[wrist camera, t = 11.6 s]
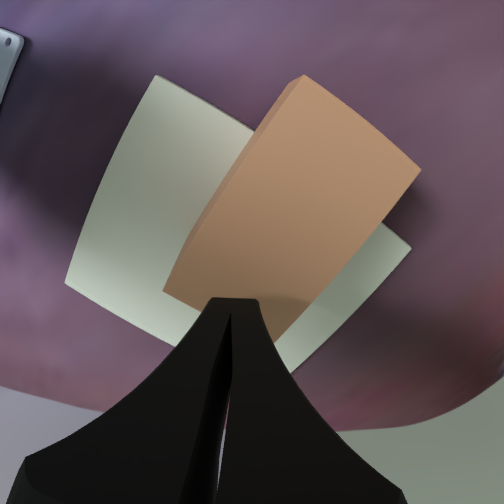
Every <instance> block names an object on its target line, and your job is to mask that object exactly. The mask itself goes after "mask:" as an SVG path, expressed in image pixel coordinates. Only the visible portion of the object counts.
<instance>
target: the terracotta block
mask: <svg viewBox="0 0 504 504" xmlns="http://www.w3.org/2000/svg"><path fill="white" fill-rule="evenodd" d="M420 171H421V169H420V168H419V167H418V166H417V165H416V164H415V163H414V162H413V161H412V160H411V159H410V158H409V157H407V156H406V155H405V154H404V153H403V152H402V151H401V150H400V149H399V148H398V147H397V146H395V145H394V144H393V143H392V142H391V141H390V140H389V139H387V138H386V137H385V136H384V135H383V134H382V133H380V132H379V131H378V130H377V129H376V128H375V127H373V126H372V125H371V124H370V123H369V122H367V121H366V120H365V119H364V118H362V117H361V116H360V115H359V114H357V113H356V112H355V111H354V110H352V109H351V108H350V107H348V106H347V105H346V104H345V103H343V102H342V101H341V100H339V99H338V98H337V97H335V96H334V95H333V94H331V93H330V92H328V91H327V90H326V89H324V88H323V87H321V86H320V85H319V84H317V83H316V82H314V81H313V80H312V79H310V78H309V77H307V76H306V75H302V76H300V77H299V78H297V79H295V80H293V81H291V82H289V83H288V85H287V86H286V88H285V89H284V90H283V92H282V93H281V95H280V96H279V97H278V99H277V100H276V102H275V103H274V104H273V106H272V107H271V109H270V110H269V112H268V113H267V114H266V116H265V117H264V119H263V120H262V122H261V123H260V125H259V126H258V128H257V129H256V130H255V132H254V133H253V135H252V136H251V138H250V139H249V141H248V142H247V144H246V145H245V147H244V148H243V150H242V151H241V153H240V154H239V156H238V157H237V159H236V160H235V162H234V163H233V165H232V166H231V168H230V169H229V171H228V173H227V174H226V176H225V177H224V179H223V180H222V182H221V183H220V185H219V186H218V188H217V190H216V191H215V193H214V194H213V196H212V198H211V199H210V201H209V202H208V204H207V205H206V207H205V209H204V210H203V212H202V214H201V215H200V217H199V218H198V220H197V222H196V223H195V225H194V227H193V228H192V230H191V231H190V233H189V235H188V236H187V238H186V241H185V243H184V245H183V247H182V249H181V251H180V253H179V255H178V258H177V260H176V262H175V264H174V266H173V268H172V271H171V273H170V275H169V277H168V279H167V282H166V284H165V286H164V288H163V290H162V291H163V292H165V293H166V294H168V295H170V296H172V297H174V298H176V299H177V300H179V301H181V302H183V303H185V304H187V305H188V306H190V307H192V308H194V309H196V310H198V311H200V312H202V311H203V309H204V307H205V306H206V304H207V303H208V301H209V300H210V299H211V298H212V297H223V298H252V299H256V300H257V301H259V305H260V310H261V313H262V317H263V320H264V322H265V325H266V328H267V330H268V332H269V335H270V337H271V339H272V341H273V343H275V342H276V341H277V340H278V339H279V338H280V337H281V336H282V335H283V334H284V332H285V331H286V330H287V329H288V328H289V327H290V326H291V325H292V324H293V323H294V322H295V321H296V320H297V319H298V318H299V316H300V315H301V314H302V313H303V312H304V311H305V310H306V309H307V308H308V307H309V306H310V304H311V303H312V302H313V301H314V300H315V299H316V298H317V297H318V296H319V294H320V293H321V292H322V291H323V290H324V289H325V288H326V287H327V286H328V284H329V283H330V282H331V281H332V280H333V279H334V278H335V276H336V275H337V274H338V273H339V272H340V271H341V269H342V268H343V267H344V266H345V265H346V264H347V263H348V261H349V260H350V259H351V258H352V257H353V255H354V254H355V253H356V252H357V251H358V250H359V248H360V247H361V246H362V245H363V244H364V242H365V241H366V240H367V239H368V237H369V236H370V235H371V234H372V233H373V231H374V230H375V229H376V228H377V226H378V225H379V224H380V223H381V222H382V220H383V219H384V218H385V217H386V215H387V214H388V213H389V211H390V210H391V209H392V208H393V206H394V205H395V204H396V203H397V201H398V200H399V199H400V197H401V196H402V195H403V194H404V192H405V191H406V190H407V188H408V187H409V186H410V184H411V183H412V182H413V180H414V179H415V178H416V176H417V175H418V174H419V172H420Z"/></svg>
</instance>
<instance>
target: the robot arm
mask: <svg viewBox="0 0 504 504" xmlns="http://www.w3.org/2000/svg"><path fill="white" fill-rule="evenodd" d="M10 40H11V44H10V45H9V43H10ZM23 44H24V39H23V37H22V36H20V35H18V34H15V33H13V32H10V31H8V30H5V29H2V28H0V104H1V101H2V98H3V95H4V92H5V89H6V87H7V84H8V81H9V79H10V76H11V73H12V71H13V68H14V66H15V63H16V61H17V59H18V56H19V54H20V52H21V50H22V47H23ZM229 397H230V401H229ZM228 403H229V409H228V417H227V425H226V434H225V441H224V448H223V455H222V463H221V470H220V477H219V484H218V470H219V456H220V448H221V441H222V435H223V430H224V425H225V419H226V414H227V408H228ZM217 485H218V490H217ZM6 504H408V503H407V501H406V499H405V497H404V494H403V492H402V490H401V489H400V488H398V487H397V486H396V485H394V484H393V483H391V482H390V481H389V480H388V479H386V478H385V477H384V476H382V475H381V474H380V473H379V472H377V471H376V470H375V469H374V468H372V467H371V466H370V465H369V464H368V463H367V462H365V461H364V460H363V459H362V458H361V457H360V456H359V455H358V454H357V453H356V452H355V451H353V450H352V449H351V448H350V447H349V446H348V445H347V444H346V443H345V442H344V441H343V440H342V439H341V437H340V436H339V435H338V434H337V433H336V432H335V431H334V430H333V429H332V428H331V427H330V426H329V425H328V424H327V422H326V421H325V420H324V419H323V418H322V417H321V416H320V414H319V413H318V412H317V411H316V409H315V408H314V407H313V406H312V404H311V403H310V402H309V401H308V399H307V398H306V396H305V395H304V394H303V392H302V391H301V389H300V388H299V387H298V385H297V384H296V382H295V381H294V379H293V377H292V376H291V374H290V373H289V371H288V369H287V368H286V366H285V364H284V362H283V361H282V359H281V357H280V355H279V353H278V351H277V349H276V347H275V345H274V343H273V341H272V339H271V337H270V335H269V332H268V330H267V328H266V325H265V322H264V320H263V317H262V313H261V310H260V305H259V301H257V300H256V299H252V298H223V297H212V298H211V299H210V300H209V301H208V303H207V304H206V306H205V307H204V309H203V311H202V312H201V314H200V315H199V317H198V318H197V319H196V321H195V322H194V324H193V325H192V326H191V328H190V329H189V330H188V332H187V333H186V334H185V335H184V337H183V338H182V339H181V341H180V342H179V343H178V344H177V346H176V347H175V348H174V349H173V350H172V351H171V352H170V354H169V355H168V356H167V357H166V358H165V359H164V360H163V361H162V363H161V364H160V365H159V366H158V367H157V368H156V369H155V370H154V371H153V372H152V373H151V374H150V375H149V376H148V377H147V378H146V379H145V380H144V381H143V382H142V383H140V384H139V385H138V386H137V387H136V388H135V389H134V390H133V391H131V392H130V393H129V394H128V395H127V396H125V397H124V398H123V399H122V400H121V401H119V402H118V403H117V404H116V405H114V406H113V407H112V408H110V409H109V410H108V411H106V412H105V413H104V414H102V415H101V416H99V417H98V418H96V419H95V420H93V421H92V422H90V423H88V424H87V425H86V426H84V427H82V428H81V429H79V430H78V431H76V432H75V433H73V434H71V435H70V436H68V437H66V438H64V439H62V440H60V441H58V442H57V443H54V444H52V445H51V446H48V447H46V448H44V449H42V450H40V451H38V452H36V453H34V454H31V455H29V456H26V457H25V459H24V461H23V463H22V465H21V467H20V469H19V471H18V473H17V476H16V478H15V481H14V483H13V486H12V489H11V491H10V494H9V497H8V499H7V502H6Z"/></svg>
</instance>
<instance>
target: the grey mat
mask: <svg viewBox="0 0 504 504" xmlns="http://www.w3.org/2000/svg"><path fill="white" fill-rule="evenodd" d="M254 132H255V131H254V130H252V129H251V128H249V127H248V126H246V125H245V124H243V123H241V122H240V121H238V120H236V119H235V118H233V117H232V116H230V115H228V114H227V113H225V112H223V111H222V110H220V109H218V108H217V107H215V106H213V105H212V104H210V103H208V102H206V101H205V100H203V99H201V98H199V97H198V96H196V95H194V94H192V93H191V92H189V91H187V90H185V89H183V88H182V87H180V86H178V85H176V84H174V83H172V82H171V81H169V80H167V79H165V78H163V77H161V76H158V75H155V77H154V79H153V80H152V82H151V84H150V85H149V87H148V89H147V91H146V92H145V94H144V96H143V98H142V99H141V101H140V103H139V105H138V107H137V108H136V110H135V112H134V114H133V116H132V118H131V120H130V122H129V124H128V125H127V127H126V129H125V131H124V133H123V135H122V137H121V139H120V141H119V143H118V146H117V148H116V150H115V152H114V154H113V156H112V158H111V160H110V163H109V165H108V167H107V169H106V171H105V174H104V176H103V178H102V181H101V183H100V185H99V188H98V190H97V192H96V195H95V197H94V200H93V202H92V205H91V207H90V210H89V212H88V215H87V218H86V220H85V223H84V226H83V228H82V231H81V234H80V237H79V240H78V242H77V245H76V248H75V251H74V254H73V257H72V260H71V263H70V267H69V270H68V273H67V276H66V280H65V284H67V285H68V286H70V287H72V288H73V289H75V290H76V291H78V292H79V293H81V294H83V295H84V296H86V297H87V298H89V299H91V300H92V301H94V302H96V303H97V304H99V305H101V306H102V307H104V308H106V309H107V310H109V311H111V312H112V313H114V314H116V315H118V316H119V317H121V318H123V319H125V320H126V321H128V322H130V323H132V324H133V325H135V326H137V327H139V328H141V329H143V330H144V331H146V332H148V333H150V334H152V335H154V336H156V337H157V338H159V339H161V340H163V341H165V342H167V343H169V344H171V345H173V346H175V347H176V346H177V344H178V343H179V342H180V341H181V339H182V338H183V337H184V335H185V334H186V333H187V332H188V330H189V329H190V328H191V326H192V325H193V324H194V322H195V321H196V319H197V318H198V317H199V315H200V314H201V312H200V311H198V310H196V309H194V308H192V307H190V306H188V305H187V304H185V303H183V302H181V301H179V300H177V299H176V298H174V297H172V296H170V295H168V294H166V293H165V292H163V291H162V290H163V288H164V286H165V284H166V282H167V279H168V277H169V275H170V273H171V271H172V268H173V266H174V264H175V262H176V260H177V258H178V255H179V253H180V251H181V249H182V247H183V245H184V243H185V241H186V238H187V236H188V235H189V233H190V231H191V230H192V228H193V227H194V225H195V223H196V222H197V220H198V218H199V217H200V215H201V214H202V212H203V210H204V209H205V207H206V205H207V204H208V202H209V201H210V199H211V198H212V196H213V194H214V193H215V191H216V190H217V188H218V186H219V185H220V183H221V182H222V180H223V179H224V177H225V176H226V174H227V173H228V171H229V169H230V168H231V166H232V165H233V163H234V162H235V160H236V159H237V157H238V156H239V154H240V153H241V151H242V150H243V148H244V147H245V145H246V144H247V142H248V141H249V139H250V138H251V136H252V135H253V133H254ZM411 249H412V248H411V247H410V246H409V245H408V244H407V243H406V242H405V241H404V240H403V239H401V238H400V237H399V236H398V235H397V234H395V233H394V232H393V231H392V230H391V229H389V228H388V227H387V226H386V225H385V224H383V223H382V222H381V223H380V224H379V225H378V226H377V228H376V229H375V230H374V231H373V233H372V234H371V235H370V236H369V237H368V239H367V240H366V241H365V242H364V244H363V245H362V246H361V247H360V248H359V250H358V251H357V252H356V253H355V254H354V255H353V257H352V258H351V259H350V260H349V261H348V263H347V264H346V265H345V266H344V267H343V268H342V269H341V271H340V272H339V273H338V274H337V275H336V276H335V278H334V279H333V280H332V281H331V282H330V283H329V284H328V286H327V287H326V288H325V289H324V290H323V291H322V292H321V293H320V294H319V296H318V297H317V298H316V299H315V300H314V301H313V302H312V303H311V304H310V306H309V307H308V308H307V309H306V310H305V311H304V312H303V313H302V314H301V315H300V316H299V318H298V319H297V320H296V321H295V322H294V323H293V324H292V325H291V326H290V327H289V328H288V329H287V330H286V331H285V332H284V334H283V335H282V336H281V337H280V338H279V339H278V340H277V341H276V342H275V343H274V345H275V347H276V349H277V351H278V353H279V355H280V357H281V359H282V361H283V362H284V364H285V366H286V368H287V369H288V371H289V373H291V372H292V371H294V370H295V369H296V368H297V367H298V366H299V365H300V364H301V363H302V362H303V361H305V360H306V359H307V358H308V357H309V356H310V355H311V354H312V353H313V352H314V351H315V350H316V349H317V348H318V347H319V346H320V345H322V344H323V343H324V342H325V341H326V340H327V339H328V338H329V337H330V336H331V335H332V334H333V333H334V332H335V331H336V330H337V329H338V328H339V327H340V326H341V325H342V324H343V323H344V322H345V321H346V320H347V319H348V318H349V317H350V316H351V315H352V314H353V313H354V312H355V311H356V310H357V309H358V308H359V307H360V306H361V304H362V303H363V302H364V301H365V300H366V299H367V298H368V297H369V296H370V295H371V294H372V293H373V292H374V291H375V290H376V288H377V287H378V286H379V285H380V284H381V283H382V282H383V281H384V280H385V279H386V278H387V276H388V275H389V274H390V273H391V272H392V271H393V270H394V269H395V267H396V266H397V265H398V264H399V263H400V262H401V261H402V259H403V258H404V257H405V256H406V255H407V254H408V252H409V251H410V250H411Z"/></svg>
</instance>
